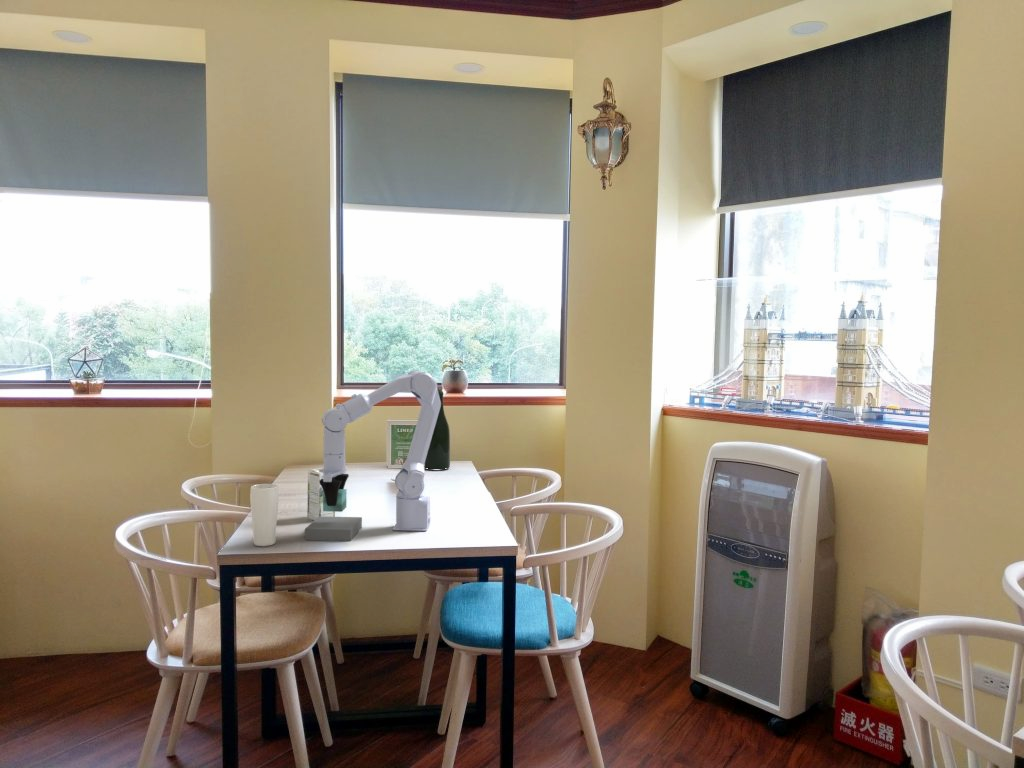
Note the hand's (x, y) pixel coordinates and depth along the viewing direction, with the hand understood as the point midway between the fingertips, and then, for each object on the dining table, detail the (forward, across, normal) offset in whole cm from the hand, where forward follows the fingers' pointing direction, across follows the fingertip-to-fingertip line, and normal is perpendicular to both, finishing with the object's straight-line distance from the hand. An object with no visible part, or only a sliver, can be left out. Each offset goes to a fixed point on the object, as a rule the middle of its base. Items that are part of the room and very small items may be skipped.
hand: (334, 503), depth 194 cm
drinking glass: (+8, +11, -15) cm, 20 cm away
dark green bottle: (+8, -99, +16) cm, 101 cm away
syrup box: (+9, -16, -8) cm, 20 cm away
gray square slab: (+8, 0, 0) cm, 8 cm away
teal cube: (+2, 0, 0) cm, 2 cm away
